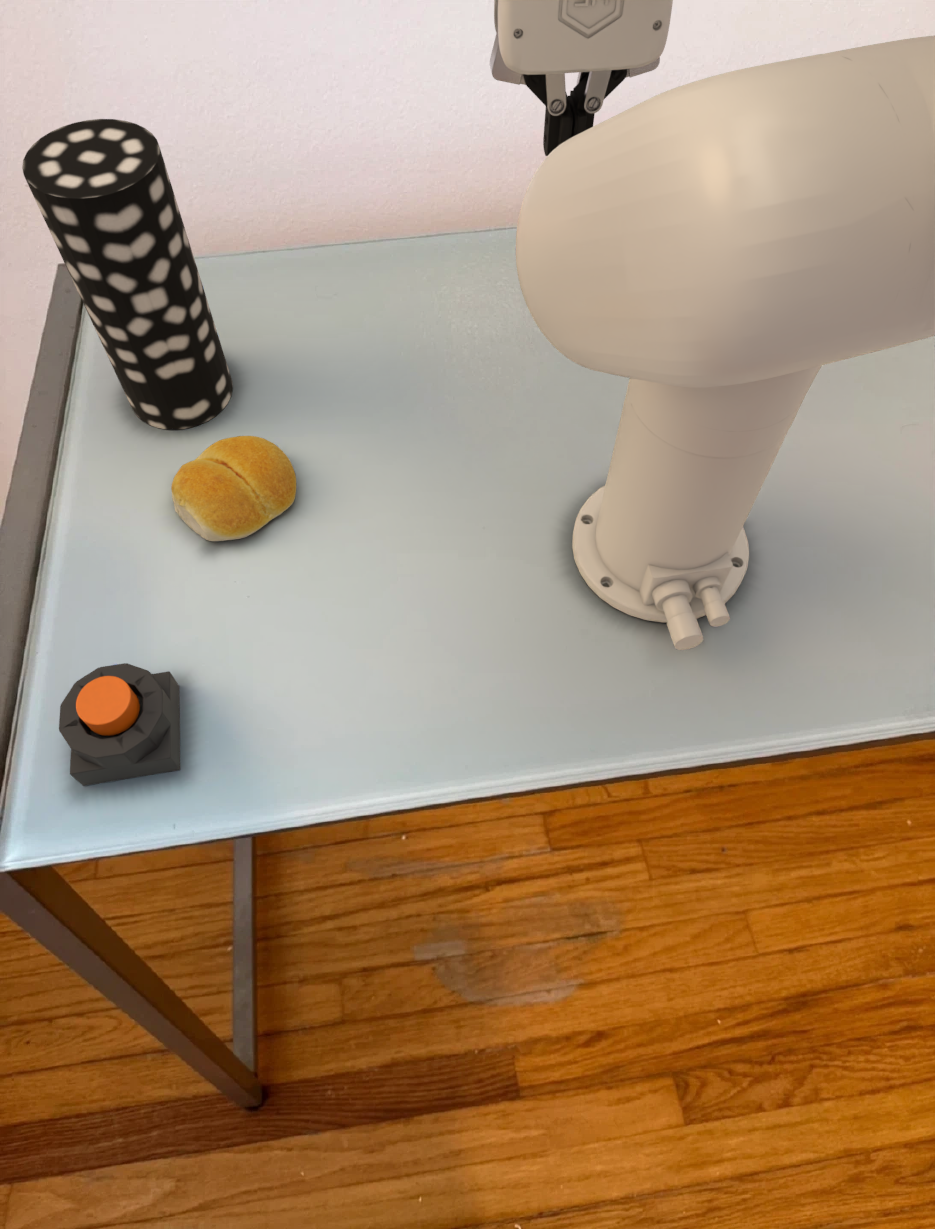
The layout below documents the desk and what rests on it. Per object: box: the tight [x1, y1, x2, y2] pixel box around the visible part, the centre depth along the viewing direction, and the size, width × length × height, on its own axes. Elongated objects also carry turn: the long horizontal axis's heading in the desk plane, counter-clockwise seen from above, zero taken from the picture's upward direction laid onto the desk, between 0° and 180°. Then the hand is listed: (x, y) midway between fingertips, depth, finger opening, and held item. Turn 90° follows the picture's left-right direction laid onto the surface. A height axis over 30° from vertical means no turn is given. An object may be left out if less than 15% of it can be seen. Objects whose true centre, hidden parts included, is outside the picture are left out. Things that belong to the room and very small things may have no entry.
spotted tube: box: [21, 118, 234, 431], centre depth 62 cm, size 8×8×20 cm
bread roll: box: [170, 435, 297, 542], centre depth 64 cm, size 8×9×4 cm
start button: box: [76, 676, 140, 736], centre depth 52 cm, size 3×3×2 cm
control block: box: [58, 662, 181, 787], centre depth 54 cm, size 6×6×4 cm
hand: (564, 162), depth 60 cm, fingers closed
